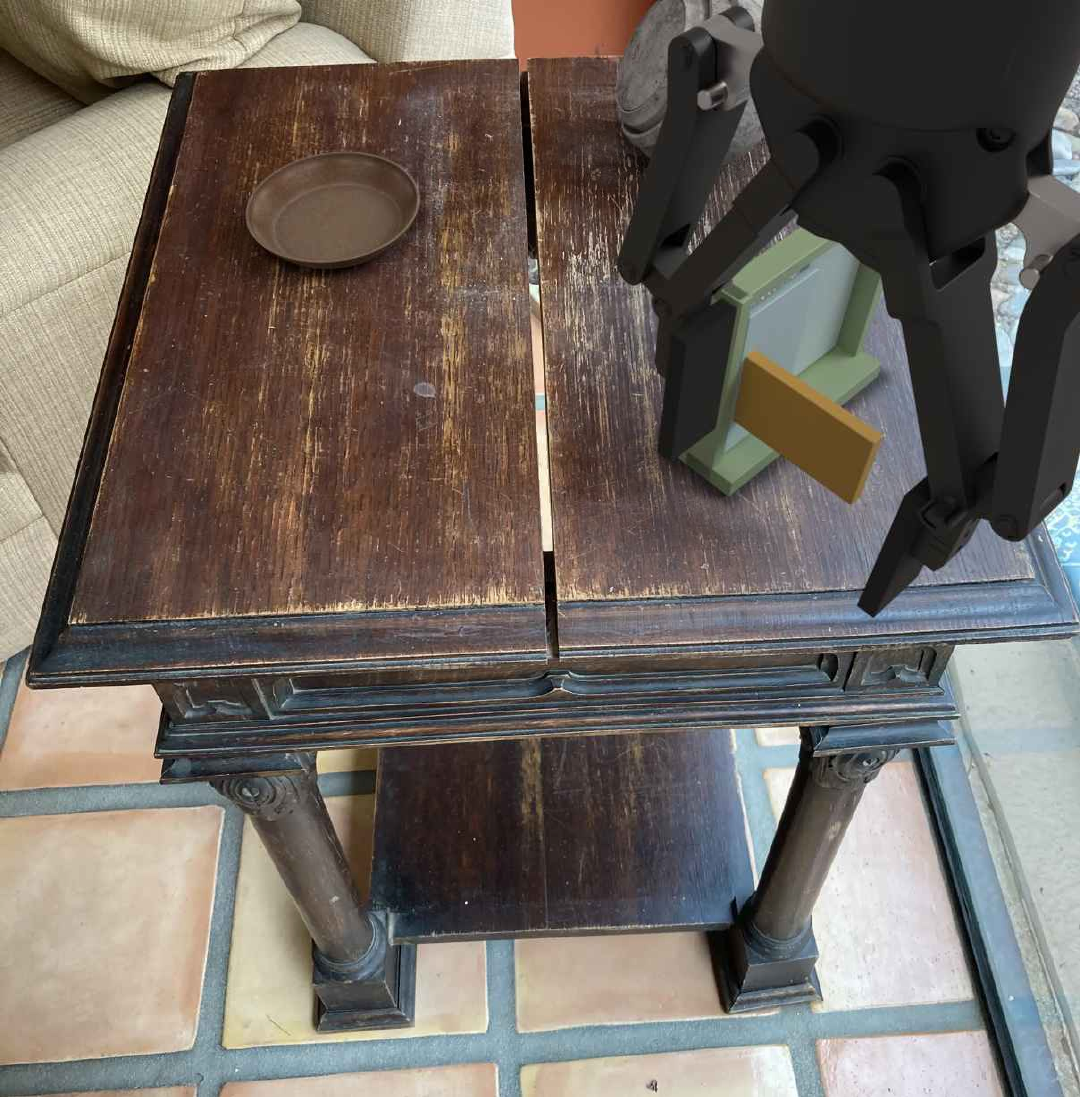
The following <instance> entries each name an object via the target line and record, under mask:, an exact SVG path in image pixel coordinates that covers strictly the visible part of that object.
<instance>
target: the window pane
mask: <svg viewBox="0 0 1080 1097" xmlns="http://www.w3.org/2000/svg"><path fill="white" fill-rule="evenodd" d="M818 271H819V269H818V268H816V267H815V266H813V265H811V266H809V267H808V268H807V269H805V270H804V271H802V272H801V273H800V272H799V273H798V274H797V275H795V276H794V277H792V278H791V279H790V280H787V282H785V283H784V284H783V285H781V286H779V287H778V288H777V289H775V290H774V291H773V292H771V293H770V294H768V295H767V296H765V297H764V298H763V299H761V300H760V301H758V302H757V303H756V304H755V305H753V306H751V310H750V315H749V320H748V325H747V331H746V336H745V341H744V346H743V351H742V356H741V362H740V367H739V372H738V377H737V382H736V387H735V393H734V398H733V403H732V408H731V413H730V418H729V424H728V429H727V434H726V439H725V444H724V449H723V454H724V453H725V452H727V451H728V450H729V449H730V448H732V447H733V446H734V445H736V444H737V443H738V442H739V441H741V440H742V439H743V438H745V437H746V436H747V435H748V434H750V433H751V434H752V435H754V436H755V437H756V438H758V439H759V440H761V441H762V442H763V443H765V444H766V445H768V446H769V447H770V448H772V449H773V450H775V451H776V452H777V453H779V454H780V456H782V457H783V458H784V459H786V460H787V461H788V462H790V463H791V464H792V465H794V466H795V467H797V468H798V469H800V470H801V471H802V472H804V473H805V474H806V475H807V476H809V477H810V478H812V479H813V480H815V481H816V482H818V483H819V484H820V485H822V486H823V487H824V488H826V489H828V490H829V491H830V492H831V493H833V494H834V495H836V496H837V497H838V498H840V499H841V500H842V501H844V502H845V503H846V504H848V505H850V506H852V505H853V504H854V503H856V502H857V501H858V500H859V499H860V498H861V496H862V494H863V490H864V488H865V485H866V482H867V480H868V477H869V475H870V473H871V469H872V468H873V467H872V466H873V464H874V462H875V459H876V456H877V454H878V452H879V448H880V446H881V443H882V440H883V438H884V435H883V434H882V433H881V432H879V431H877V430H876V429H874V428H873V427H872V426H870V425H869V424H867V423H866V422H864V421H863V420H861V419H860V418H858V417H857V416H855V415H854V414H853V413H851V412H850V411H848V410H846V409H845V408H844V407H842V406H841V407H840V406H839V405H837V404H836V403H834V402H833V401H831V400H830V399H829V398H827V397H826V396H824V395H823V394H821V393H820V392H818V391H817V390H815V389H814V388H812V387H811V386H809V385H808V384H806V383H805V382H803V381H802V380H800V379H799V378H797V377H796V376H794V375H793V374H792V373H793V369H794V366H795V362H796V358H797V354H798V350H799V346H800V342H801V338H802V334H803V330H804V326H805V322H806V318H807V314H808V310H809V306H810V302H811V298H812V294H813V290H814V286H815V282H816V279H817V275H818Z"/></svg>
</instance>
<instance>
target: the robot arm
mask: <svg viewBox="0 0 1080 1097" xmlns="http://www.w3.org/2000/svg"><path fill="white" fill-rule="evenodd" d="M762 8H763V9H762V16H761V33H762V35H761V34H758V33H755V24H754V21H753V19H752V16H751V15H750V13H749V12H748V11H747V10H746V9H745V8H743V7H742V6H736V5H734V6H732V7H730V8H729V9H727V10H725V11H723V12H721V13H719V14H717V15H715V16H713V17H711V18H709V19H707V20H706V21H704V22H702V23H700V24H698V25H696V26H694V27H693V28H691V29H690V30H688V31H686V32H684V33H682V34H680V35H678V36H677V37H675V38H673V39H672V40H671V42H670V43H669V46H668V59H667V109H666V112H665V115H664V118H663V121H662V125H661V128H660V131H659V134H658V137H657V140H656V143H655V146H654V149H653V152H652V155H651V158H650V157H649V161H648V165H647V168H646V171H645V173H644V177H643V180H642V182H641V185H640V188H639V192H638V195H637V198H636V201H635V204H634V207H633V210H632V213H631V216H630V219H629V223H628V225H627V228H626V231H625V235H624V237H623V241H622V244H621V246H620V250H619V253H618V255H617V260H616V266H617V271H618V273H619V275H620V277H621V278H622V280H623V281H624V282H625V283H626V284H628V285H630V286H633V287H635V286H638V285H640V284H642V285H643V286H644V287H645V289H646V290H648V292H649V293H650V294H651V296H652V298H651V306H652V310H653V312H654V314H655V316H656V317H657V318H658V322H657V331H656V332H657V333H656V343H655V352H654V365H655V369H656V374H658V375H659V376H660V377H661V378H663V379H664V380H665V381H664V390H663V398H662V399H663V400H662V407H661V416H660V424H659V425H660V426H659V434H658V441H657V453H658V454H659V455H660V456H661V457H663V458H664V459H665V460H666V461H668V462H669V463H672V462H673V461H675V460H676V459H678V458H677V457H679V456H680V455H681V454H683V453H684V452H685V451H687V450H688V449H689V448H690V447H692V446H693V445H694V444H696V443H697V442H698V441H700V440H701V439H702V438H704V437H705V436H706V435H708V434H709V433H710V432H711V431H713V430H714V429H715V428H716V424H717V419H718V413H719V408H720V402H721V396H722V391H723V385H724V380H725V374H726V368H727V363H728V357H729V352H730V346H731V341H732V335H733V329H734V324H735V318H736V313H737V308H736V307H735V306H733V305H732V304H730V303H729V302H727V301H726V300H724V299H723V298H721V299H720V300H718V301H717V302H715V303H714V304H712V305H711V300H712V296H713V295H715V294H716V293H718V292H719V291H721V290H722V289H724V288H725V287H727V286H728V285H729V284H731V283H732V282H733V280H732V279H733V278H734V277H735V276H736V275H737V274H738V273H739V272H740V271H741V270H742V269H743V268H744V267H745V266H746V265H747V264H748V263H749V262H750V261H752V260H753V259H755V258H756V257H757V255H759V253H760V252H761V251H762V250H763V249H764V248H765V247H766V246H767V245H768V244H769V243H770V242H771V241H772V240H773V239H774V238H775V237H776V236H777V235H778V234H779V233H781V231H782V230H783V229H784V228H785V227H786V226H787V225H788V224H789V223H790V222H791V221H792V220H794V218H795V217H796V216H797V218H796V223H795V225H796V226H799V228H800V227H802V228H803V229H805V230H807V231H808V232H810V233H812V234H813V235H815V236H817V237H820V238H824V239H827V240H831V241H834V242H838V243H840V244H841V245H843V246H844V247H845V248H846V249H847V250H848V251H849V252H850V253H851V254H852V255H853V256H854V257H855V258H857V259H858V260H859V261H860V262H861V263H862V264H864V265H866V266H868V267H869V268H871V269H873V270H874V271H876V272H878V273H879V274H880V276H881V281H882V287H883V289H882V293H883V297H884V303H885V310H886V312H887V315H888V316H889V317H890V318H891V319H896V320H898V321H899V322H900V323H901V329H902V334H903V340H904V347H905V352H906V358H907V365H908V370H909V376H910V382H911V389H912V394H913V401H914V404H915V405H914V406H915V411H916V419H917V423H918V430H919V434H920V440H921V447H922V453H923V460H924V465H925V470H926V476H924V477H923V478H922V479H920V481H919V482H917V483H916V485H914V486H913V487H912V488H910V490H909V491H907V493H905V494H904V495H903V497H902V499H901V501H900V503H899V507H898V509H897V512H896V513H895V515H894V518H893V520H892V523H891V525H890V527H889V530H888V531H887V535H886V536H885V539H884V541H883V543H882V546H881V548H880V550H879V553H878V555H877V557H876V560H875V561H874V565H873V567H872V569H871V571H870V573H869V576H868V578H867V581H866V583H865V585H864V587H863V589H862V592H861V594H860V597H859V599H858V602H857V604H856V607H858V608H859V609H860V610H862V611H863V612H864V613H866V614H867V615H868V616H869V617H870V618H872V619H875V618H876V617H877V616H878V615H880V613H881V612H882V611H883V610H884V609H886V607H887V606H889V604H891V603H892V602H893V601H894V600H895V599H896V598H897V597H898V596H899V595H900V594H901V593H902V592H903V591H904V590H906V588H908V587H909V585H911V583H913V582H914V581H915V580H916V579H917V578H918V577H919V576H920V574H921V571H922V570H923V567H926V568H928V569H929V570H930V571H931V572H933V573H934V572H937V571H939V570H940V569H943V568H944V567H945V566H946V565H947V564H948V563H949V562H950V561H951V560H952V559H953V558H954V557H956V556H957V554H959V553H960V552H961V551H962V550H963V549H964V548H965V547H966V546H967V545H968V544H969V542H970V541H971V539H972V537H973V535H974V533H975V531H976V529H977V527H978V525H979V524H980V522H981V521H982V520H985V521H987V522H988V524H989V526H990V527H991V530H992V531H993V532H994V533H995V534H996V535H997V536H998V537H999V538H1001V539H1003V540H1004V541H1007V542H1011V543H1019V542H1021V541H1023V540H1025V539H1026V538H1027V537H1028V536H1029V535H1030V534H1031V533H1032V532H1033V531H1034V530H1035V529H1036V528H1037V527H1038V526H1039V525H1040V524H1041V523H1042V522H1043V521H1044V520H1045V519H1047V517H1048V516H1049V515H1050V514H1051V513H1052V512H1053V511H1054V510H1056V509H1057V507H1059V505H1060V504H1061V503H1063V501H1065V499H1066V498H1067V497H1068V496H1070V494H1071V492H1072V491H1073V486H1074V484H1075V483H1074V482H1075V479H1076V473H1077V469H1078V465H1079V461H1080V192H1079V191H1077V190H1075V189H1074V188H1072V187H1070V186H1069V185H1067V184H1066V183H1064V182H1063V181H1061V180H1059V179H1057V178H1056V177H1055V176H1053V173H1054V164H1055V162H1054V154H1053V141H1052V140H1053V130H1054V124H1055V121H1056V117H1057V114H1058V112H1059V110H1060V108H1061V106H1062V104H1063V102H1064V100H1065V98H1066V96H1067V94H1068V92H1069V90H1070V88H1071V85H1072V83H1073V81H1074V79H1075V78H1076V74H1077V72H1078V70H1079V67H1080V0H763V3H762ZM751 97H752V100H753V103H754V106H755V109H756V112H757V115H758V118H759V121H760V124H761V127H762V130H763V133H764V136H763V137H764V140H765V141H766V145H767V148H768V151H769V155H770V156H769V159H768V160H767V161H766V163H765V164H764V165H763V166H761V168H760V170H759V171H758V172H757V173H756V174H755V175H754V176H753V177H752V179H751V180H750V181H748V183H747V184H746V185H745V187H744V188H743V189H741V191H740V192H739V194H738V195H737V196H736V197H735V198H734V199H733V200H732V201H731V202H732V203H731V205H732V207H731V208H730V209H729V210H728V211H727V212H726V214H725V215H724V216H723V217H722V218H721V219H720V220H719V222H717V224H715V226H714V227H713V228H712V229H711V230H710V232H709V233H708V234H707V235H706V236H705V237H704V238H703V239H702V241H701V242H700V243H699V244H698V245H697V246H696V247H695V248H694V250H692V252H691V253H690V254H688V253H687V251H688V248H689V246H690V243H691V242H692V239H693V237H694V234H695V231H696V229H697V227H698V224H699V222H700V219H701V217H702V215H703V212H704V210H705V207H706V205H707V202H708V200H709V197H710V195H711V194H712V190H713V188H714V186H715V183H716V181H717V178H718V176H719V173H720V172H721V169H722V167H723V166H722V164H723V161H724V159H725V157H726V154H727V152H728V149H729V147H730V144H731V142H732V140H733V137H734V135H735V132H736V130H737V127H738V125H739V123H740V120H741V118H742V115H743V113H744V110H745V107H746V104H747V101H748V99H749V98H751ZM721 166H722V167H721ZM1010 224H1013V225H1014V226H1015V227H1016V228H1017V229H1018V230H1019V231H1020V233H1021V234H1022V236H1023V239H1024V242H1025V252H1024V255H1023V259H1022V263H1023V264H1022V266H1023V267H1022V269H1021V270H1020V272H1019V274H1018V281H1019V283H1020V285H1021V287H1023V288H1024V289H1026V290H1028V291H1031V292H1030V294H1029V296H1028V297H1027V299H1026V301H1025V303H1024V306H1023V308H1022V311H1021V313H1020V316H1019V320H1018V323H1017V329H1016V332H1015V338H1014V339H1015V340H1014V345H1013V351H1012V352H1013V353H1012V359H1011V365H1010V372H1009V380H1008V385H1007V392H1006V398H1004V388H1003V382H1002V381H1003V380H1002V372H1001V364H1000V356H999V348H998V340H997V331H996V323H995V314H994V306H993V298H992V288H991V287H992V286H991V283H992V279H993V277H994V275H995V272H996V270H997V269H998V268H997V267H998V262H999V254H998V252H999V251H998V245H997V244H998V243H997V236H996V231H998V230H1000V229H1002V228H1003V227H1005V226H1007V225H1010Z"/></svg>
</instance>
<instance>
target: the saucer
mask: <svg viewBox="0 0 1080 1097" xmlns="http://www.w3.org/2000/svg"><path fill="white" fill-rule="evenodd" d="M420 201H421V198H420V191H419V188H418V185H417V183H416V181H415V180H414V178H413V176H412V175H411V173H409V172H408V171H407V170H406V169H405V168H404V167H402V166H401V165H399V164H397V163H396V162H394V161H392V160H391V159H388V158H385V157H383V156H379V155H377V154H371V153H366V152H360V151H332V152H331V151H330V152H323V153H318V154H313V155H310V156H306V157H303V158H299V159H297V160H294V161H292V162H290V163H288V164H285V165H284V166H282V167H279V168H278V169H276V170H275V171H273V172H272V173H270V174H269V175H268V176H267V177H265V178H264V179H263V180H262V181H261V182H260V183H258V185H257V186H256V188H255V189H254V190H253V192H252V193H251V195H250V197H249V199H248V202H247V204H246V208H245V221H246V222H245V223H246V226H247V228H248V231H249V233H250V234H251V236H252V237H253V239H254V240H255V241H256V242H257V243H258V244H259V245H261V246H262V247H263V248H264V249H266V250H267V251H268V252H270V253H271V254H273V255H274V256H276V257H278V258H280V259H282V260H284V261H287V262H289V263H292V264H295V265H298V266H301V267H306V268H312V269H320V270H333V269H334V270H336V269H344V268H350V267H353V266H357V265H361V264H364V263H366V262H368V261H371V260H372V259H376V258H377V257H378V256H380V255H381V254H384V253H385V252H386V251H388V250H389V249H391V248H392V247H393V246H394V245H396V243H397V242H398V241H400V239H402V238H403V236H404V235H405V234H406V232H408V230H409V229H410V227H411V226H412V224H413V222H414V220H415V218H416V216H417V214H418V211H419V208H420Z"/></svg>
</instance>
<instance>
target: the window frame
mask: <svg viewBox="0 0 1080 1097" xmlns="http://www.w3.org/2000/svg"><path fill="white" fill-rule="evenodd" d="M811 265H813V266H815V267H816V268H818V269H819V271H818V275H817V279H816V282H815V286H814V290H813V294H812V298H811V302H810V306H809V310H808V314H807V318H806V322H805V326H804V330H803V334H802V338H801V342H800V346H799V350H798V354H797V358H796V362H795V366H794V369H793V373H792V374H793V375H794V376H796V377H797V378H799V379H800V380H802V381H803V382H805V383H806V384H808V385H809V386H811V387H812V388H814V389H815V390H817V391H818V392H820V393H821V394H823V395H824V396H826V397H827V398H829V399H830V400H831V401H833V402H834V403H836V404H837V405H839V406H840V407H842V406H844V405H845V404H846V403H847V402H848V401H850V400H851V399H853V397H854V396H856V395H858V393H859V392H860V391H862V390H863V389H865V388H866V387H867V386H868V385H869V384H871V383H872V382H873V381H874V380H876V379H877V378H878V376H879V373H880V370H881V368H882V365H883V362H881V361H879V360H878V359H876V358H875V357H873V356H872V355H870V354H868V353H867V352H866V351H864V348H865V345H866V343H867V339H868V336H869V333H870V330H871V327H872V323H873V320H874V317H875V315H876V311H877V307H878V306H879V305H878V304H879V302H880V298H881V295H882V293H883V287H882V281H881V276H880V274H879V273H878V272H876V271H874V270H873V269H871V268H869V267H868V266H866V265H864V264H862V263H861V262H860V261H859V260H858V259H857V258H855V257H854V256H853V255H852V254H851V253H850V252H849V251H848V250H847V249H846V248H845V247H844V246H843V245H841V244H840V243H838V242H834V241H831V240H827V239H824V238H820V237H817V236H815V235H813V234H812V233H810V232H808V231H807V230H805V229H803V228H802V227H800V226H799V227H798V228H797V229H796V230H794V231H792V232H791V233H790V234H788V235H787V236H785V237H784V238H782V239H781V240H779V241H778V242H777V243H775V244H774V245H772V246H771V247H769V248H768V249H766V250H765V251H763V252H762V253H760V254H758V256H755V257H754V258H753V259H752V260H751V261H750V262H749V263H748V264H747V265H746V266H745V267H744V268H743V269H742V270H741V271H740V272H739V273H738V274H737V275H736V276H735V277H734V278H733V279H732V280H733V282H732V283H731V284H729V285H728V286H727V287H725V288H724V289H722V290H721V291H719V292H718V293H716V294H715V295H713V296H712V300H711V305H712V304H714V303H715V302H717V301H718V300H720V299H721V298H723V299H724V300H726V301H727V302H729V303H730V304H732V305H733V306H735V307H736V308H737V313H736V318H735V324H734V329H733V335H732V341H731V346H730V352H729V357H728V363H727V368H726V374H725V380H724V385H723V391H722V396H721V402H720V408H719V413H718V419H717V424H716V428H715V429H714V430H713V431H711V432H710V433H709V434H708V435H706V436H705V437H704V438H702V439H701V440H700V441H698V442H697V443H696V444H694V445H693V446H692V447H690V448H689V449H688V450H687V451H685V452H684V453H683V454H681V455H680V456H679V457H677V458H676V459H678V460H680V461H681V462H682V463H683V464H685V465H686V466H688V468H690V469H691V470H693V471H694V472H696V473H697V474H698V475H699V476H701V478H703V479H705V481H707V482H708V483H710V484H711V485H713V487H715V488H717V490H719V491H720V492H722V493H723V494H724V495H726V496H727V497H730V496H732V495H733V494H734V493H735V492H737V491H738V490H739V489H740V488H742V486H744V485H745V484H747V483H748V482H749V481H751V479H753V478H754V477H755V476H756V475H758V474H759V473H760V472H761V471H763V470H764V469H765V468H766V467H768V466H769V465H770V464H771V463H773V461H775V460H776V459H777V458H779V457H780V456H781V455H780V454H779V453H777V452H776V451H775V450H773V449H772V448H770V447H769V446H768V445H766V444H765V443H763V442H762V441H761V440H759V439H758V438H756V437H755V436H754V435H752V434H751V433H750V434H748V435H747V436H746V437H745V438H743V439H742V440H741V441H739V442H738V443H737V444H736V445H734V446H733V447H732V448H730V449H729V450H728V451H727V452H725V453H724V454H723V449H724V444H725V439H726V434H727V429H728V424H729V418H730V413H731V408H732V403H733V398H734V393H735V387H736V382H737V377H738V372H739V367H740V362H741V356H742V351H743V346H744V341H745V336H746V331H747V325H748V320H749V315H750V310H751V308H752V305H753V304H755V303H756V302H757V301H759V300H760V299H762V298H763V297H764V296H766V295H767V294H769V293H770V292H772V291H773V290H774V289H776V288H777V287H778V286H780V285H781V284H783V283H784V282H785V281H788V280H789V278H791V277H793V276H794V275H795V274H797V273H799V274H800V273H801V272H802V271H804V270H805V269H807V268H808V267H809V266H811Z"/></svg>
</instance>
